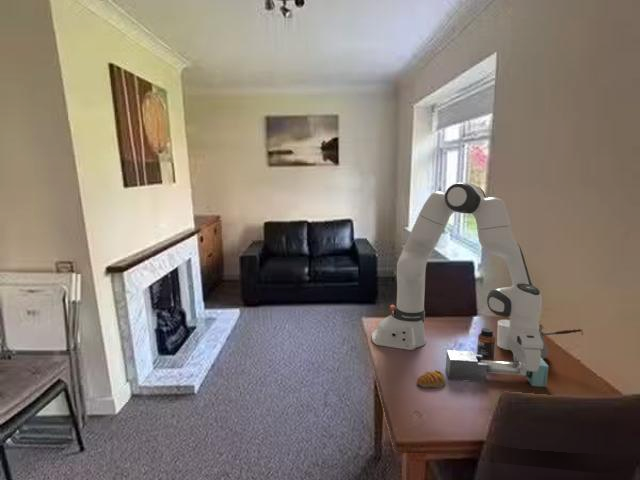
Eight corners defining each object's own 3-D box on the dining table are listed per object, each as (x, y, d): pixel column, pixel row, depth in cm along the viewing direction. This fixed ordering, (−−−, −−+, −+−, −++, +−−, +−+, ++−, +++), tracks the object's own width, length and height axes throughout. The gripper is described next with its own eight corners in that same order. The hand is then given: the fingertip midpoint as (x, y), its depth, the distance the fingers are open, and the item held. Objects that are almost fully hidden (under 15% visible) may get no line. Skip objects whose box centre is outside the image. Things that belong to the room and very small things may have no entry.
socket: (531, 385, 132) (534, 365, 131) (524, 374, 139) (526, 355, 138) (546, 386, 132) (548, 366, 130) (537, 375, 139) (539, 356, 137)
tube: (481, 376, 135) (482, 362, 134) (477, 369, 140) (478, 355, 139) (540, 381, 132) (542, 366, 131) (534, 373, 137) (536, 359, 137)
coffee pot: (511, 357, 151) (515, 320, 149) (517, 346, 160) (521, 312, 158) (577, 375, 139) (582, 335, 136) (579, 362, 148) (585, 324, 145)
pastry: (424, 392, 129) (425, 381, 128) (412, 382, 135) (412, 371, 134) (447, 385, 133) (448, 375, 132) (433, 376, 139) (434, 366, 138)
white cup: (512, 342, 164) (514, 319, 162) (520, 351, 157) (522, 327, 155) (493, 341, 165) (495, 319, 163) (499, 350, 157) (501, 326, 155)
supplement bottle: (492, 355, 153) (495, 327, 151) (494, 362, 148) (496, 333, 146) (476, 352, 155) (478, 325, 153) (477, 359, 150) (479, 331, 148)
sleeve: (449, 379, 136) (450, 359, 134) (445, 369, 143) (446, 350, 142) (485, 382, 134) (487, 362, 133) (480, 371, 141) (481, 352, 140)
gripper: (504, 320, 143) (500, 355, 146) (524, 345, 123) (520, 385, 126) (522, 321, 142) (518, 356, 145) (546, 346, 123) (541, 387, 125)
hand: (519, 370), depth 135 cm, fingers closed on tube, 4 cm apart
